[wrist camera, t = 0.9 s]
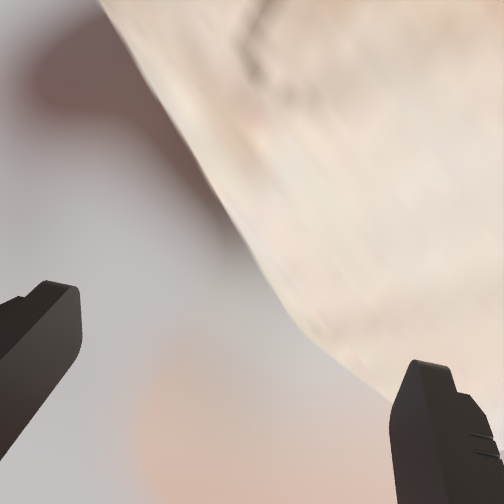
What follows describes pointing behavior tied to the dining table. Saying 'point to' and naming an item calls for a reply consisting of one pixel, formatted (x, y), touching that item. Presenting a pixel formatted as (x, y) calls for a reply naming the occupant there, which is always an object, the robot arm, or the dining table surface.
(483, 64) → the dining table surface
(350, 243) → the dining table surface
